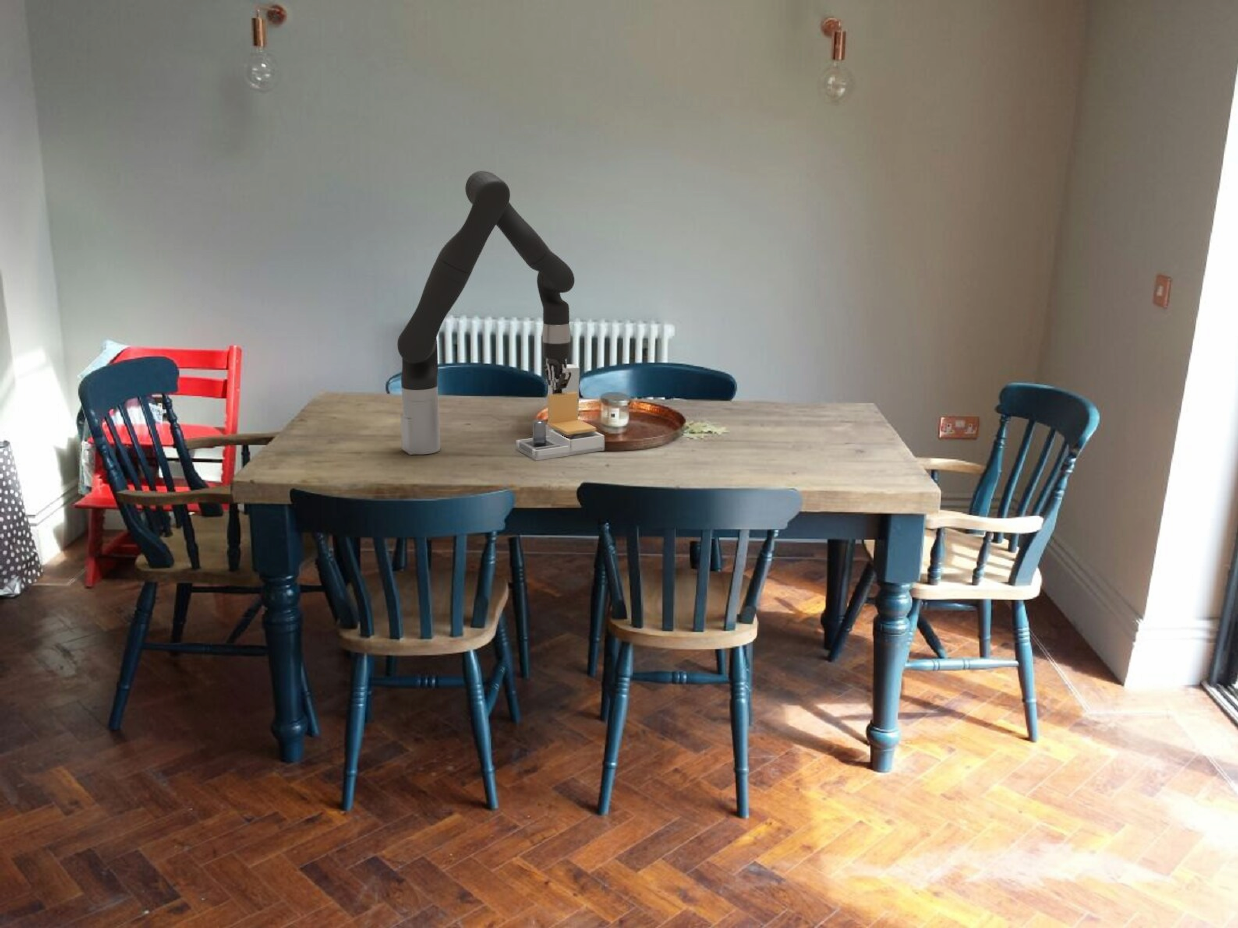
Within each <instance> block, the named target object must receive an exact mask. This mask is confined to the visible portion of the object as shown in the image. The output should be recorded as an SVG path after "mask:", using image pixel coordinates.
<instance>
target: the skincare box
mask: <svg viewBox="0 0 1238 928" xmlns="http://www.w3.org/2000/svg"><path fill="white" fill-rule="evenodd" d="M566 364H567V363H566ZM566 370H567V372H571V377H570V380H569V382H568V385H567V387H566V388H563V389H562V393H567V392H576V393H578V414H579V409H580V406H579V405H580V403H579V402H580V366H578V365H577V364H573V363H571V364H567V368H566ZM547 385H548V384H547ZM547 392H548V393H547V396H548V395H550V394H552V389H551V385H548V391H547Z"/></svg>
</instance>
